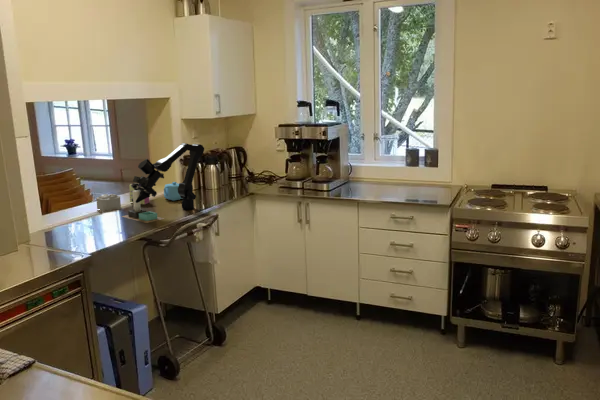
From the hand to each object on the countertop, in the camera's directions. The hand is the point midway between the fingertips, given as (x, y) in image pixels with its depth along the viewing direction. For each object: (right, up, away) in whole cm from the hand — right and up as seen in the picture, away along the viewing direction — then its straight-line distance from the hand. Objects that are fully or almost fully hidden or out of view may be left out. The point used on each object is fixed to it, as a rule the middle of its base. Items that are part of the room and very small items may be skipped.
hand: (134, 201), depth 279 cm
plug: (+1, -6, +2) cm, 6 cm away
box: (-9, -1, +40) cm, 41 cm away
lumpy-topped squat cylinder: (-22, -5, +23) cm, 32 cm away
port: (+8, -9, -3) cm, 13 cm away
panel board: (+5, -10, 0) cm, 11 cm away
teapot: (+11, +1, +53) cm, 54 cm away
